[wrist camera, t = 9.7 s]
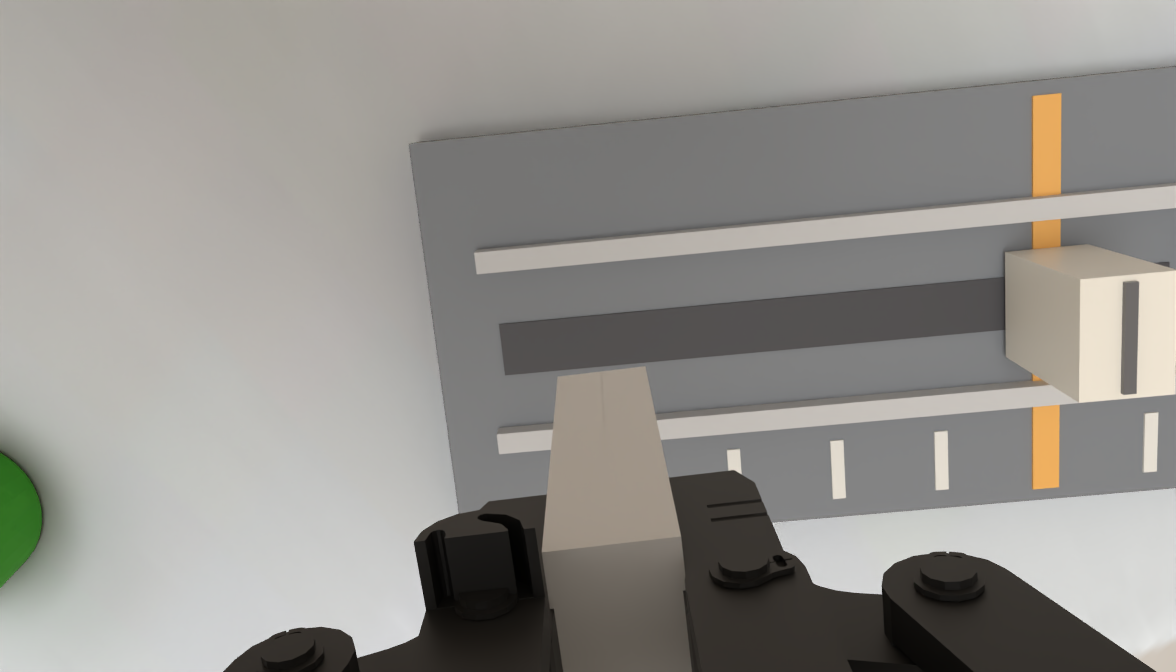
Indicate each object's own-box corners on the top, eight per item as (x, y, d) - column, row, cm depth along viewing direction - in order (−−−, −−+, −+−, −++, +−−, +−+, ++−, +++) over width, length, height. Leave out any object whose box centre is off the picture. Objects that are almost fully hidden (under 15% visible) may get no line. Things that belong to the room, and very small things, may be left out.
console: (418, 142, 39) (402, 145, 36) (1212, 62, 38) (1267, 58, 35) (470, 528, 42) (459, 561, 39) (1196, 465, 41) (1245, 495, 38)
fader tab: (1005, 251, 37) (1083, 280, 31) (1087, 244, 37) (1182, 271, 31) (1005, 356, 38) (1081, 404, 32) (1086, 349, 38) (1178, 396, 32)
